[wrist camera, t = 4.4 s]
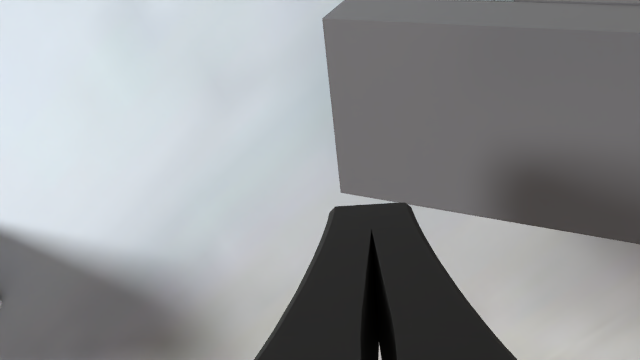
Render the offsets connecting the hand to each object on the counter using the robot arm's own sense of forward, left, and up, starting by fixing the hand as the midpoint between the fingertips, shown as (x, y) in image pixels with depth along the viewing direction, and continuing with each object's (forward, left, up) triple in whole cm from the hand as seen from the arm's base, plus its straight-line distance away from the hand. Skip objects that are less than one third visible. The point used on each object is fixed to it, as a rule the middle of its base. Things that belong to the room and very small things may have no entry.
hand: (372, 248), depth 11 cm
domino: (0, 0, -6) cm, 6 cm away
